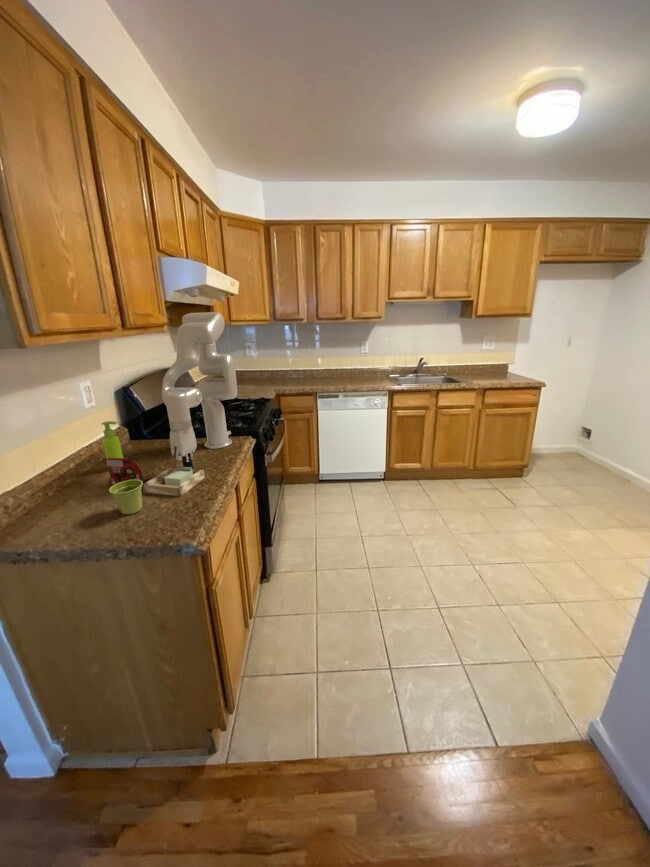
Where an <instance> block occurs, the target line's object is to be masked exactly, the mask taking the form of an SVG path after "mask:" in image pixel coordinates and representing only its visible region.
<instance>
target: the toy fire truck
mask: <svg viewBox="0 0 650 867" xmlns="http://www.w3.org/2000/svg"><path fill="white" fill-rule="evenodd" d="M105 463H106V466H107V467H108V470H109V472H108V473H109V475H110V478H109V479H108V485H109V486H110V487H112V486H113V485H115V484H117V483H120V482H123V481H127V480H141V481H143V479H144V478H143V477H144V476H143V474H142V470H141V468H140V467H139V466H138V465H137V463H136V462H134V461H133V459H132V458H131V457H126V458H124V457H123V458H108V459H107V458H106V460H105Z"/></svg>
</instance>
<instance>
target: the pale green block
mask: <svg viewBox="0 0 650 867" xmlns="http://www.w3.org/2000/svg"><path fill="white" fill-rule="evenodd" d="M174 469H175V470H173V472H172V473H170V474H169V475H168V476H166V477H165V478H164V480H165V481H164V485H173V486H179V485H181V484H182V483H183V482H185V481H186V480H187V479H189V478H190V477H191V476H193V475H194V473H193V472H194V471H193V470H192V467H183V466H175V468H174Z"/></svg>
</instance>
